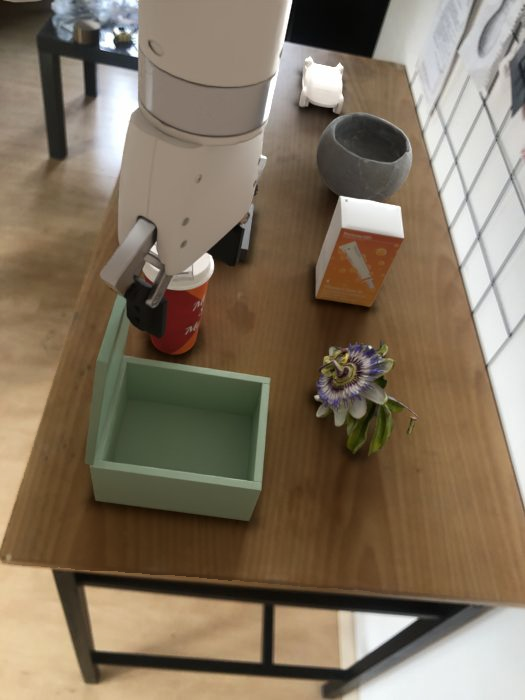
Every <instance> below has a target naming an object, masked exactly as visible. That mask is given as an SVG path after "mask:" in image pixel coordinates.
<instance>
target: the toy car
mask: <svg viewBox="0 0 525 700" xmlns="http://www.w3.org/2000/svg"><path fill="white" fill-rule="evenodd" d="M343 74H344V66H343V65H342V64H341V62H339V63H338V64H337V65H336V66H335V67H332V66H329V65H323V64H318V63H315V62H314V60H313V58H312V57H311V56H309V57H307V58H306V59H305V60H304V63H303V67H302V79H301V85H302V89H301V92H300V96H299V102H298V106H299V107H301V108H305V107H309V104H312V105H314V106H318V107H322V108H328V109H329V108H330V109H332V113H334V115H335V114H336V115H340V114H341V112H342V110H343V106H344V100H345V98H344V96H343Z"/></svg>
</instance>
